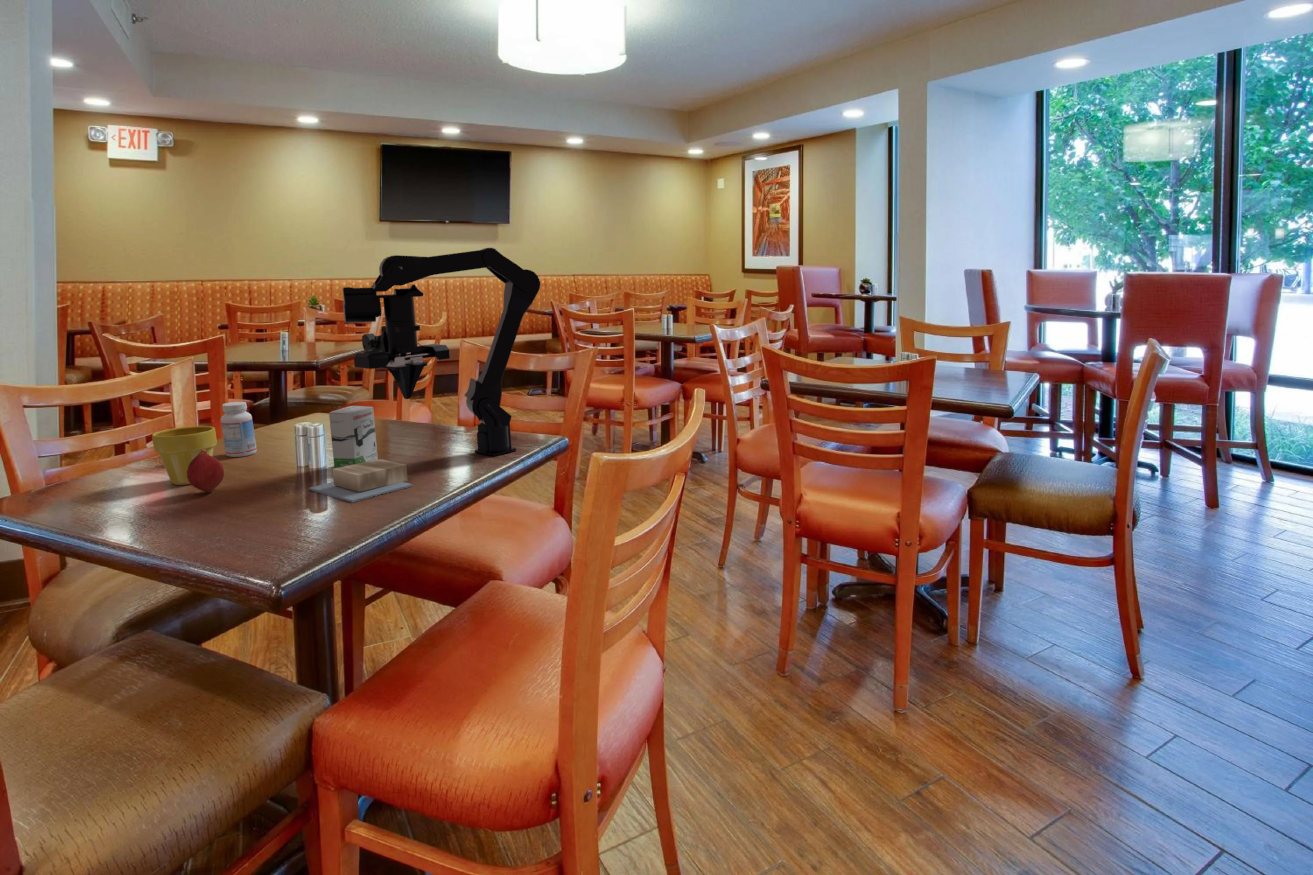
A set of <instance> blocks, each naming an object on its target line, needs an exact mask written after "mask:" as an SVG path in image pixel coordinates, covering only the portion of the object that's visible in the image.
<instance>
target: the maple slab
mask: <svg viewBox="0 0 1313 875" xmlns="http://www.w3.org/2000/svg"><path fill="white" fill-rule="evenodd" d="M407 466H408V465H407V464H405V463H399V462H396V461H392V460H388V459H382V458H380V459H379V458H378V460H374V461H369V462H364V463H359V464H354V465H349V466H344V467H339V468H332V476H333V477H332V478H333V482H334V485H336V486H339V487H343V488H347V489H350V490H354V491H357V492H360V491H365V490H369V489H373V488H378V487H382V486H386V485H391V484H395V483H399V482H408V469H407V468H408V467H407Z"/></svg>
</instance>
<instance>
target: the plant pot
mask: <svg viewBox="0 0 1313 875" xmlns="http://www.w3.org/2000/svg"><path fill="white" fill-rule="evenodd" d="M151 439H152V445H153V449H154V452H155V453H156V454H159V457H160V459H161V461H162V464H163V466H164V469H165V471H166V473H167V475H168V478H169V480H170V483H171V484H173V485H177V486H183V485H184V486H185V485H186V486H187V485H191V484H190V483H189V481H188V478H187V470H188V466H189V464H190V462H191V461H192V460H193V459H194V458H195V457H196V456H197V455H198V454H199V453H200V452H201V450H205V449H206V451H207V454H208V455H210V456H212V457H214V448H215V447H216V446H217V444H218V441H217V432H216V428H215V427H214V426H210V425H209V426H208V425H194V426H193V425H192V426H181V427H173V428H168V429H164V430H160V431H156V432H153V434H152V435H151Z"/></svg>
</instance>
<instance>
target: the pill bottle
mask: <svg viewBox="0 0 1313 875" xmlns="http://www.w3.org/2000/svg"><path fill="white" fill-rule="evenodd" d="M247 408H248V406H247V402H246V401H232V402H227V403H225V402H224V403H223V404H222V411H223V412H224V414H223V415H222V416H221V418H220V425H221V430H222V437H223V443H224V445H223V446H224V450H225V451H224V452H225V455H226V456H227V457H231V458H241V457H242V458H243V457H247V456H252V455H254V454H256V453H257V451H258V450H257V448H258V447H257V442H256V436H255V429H254V422H253V416H252V414H251V413H250V412H248V411H247V410H248V409H247Z"/></svg>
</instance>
